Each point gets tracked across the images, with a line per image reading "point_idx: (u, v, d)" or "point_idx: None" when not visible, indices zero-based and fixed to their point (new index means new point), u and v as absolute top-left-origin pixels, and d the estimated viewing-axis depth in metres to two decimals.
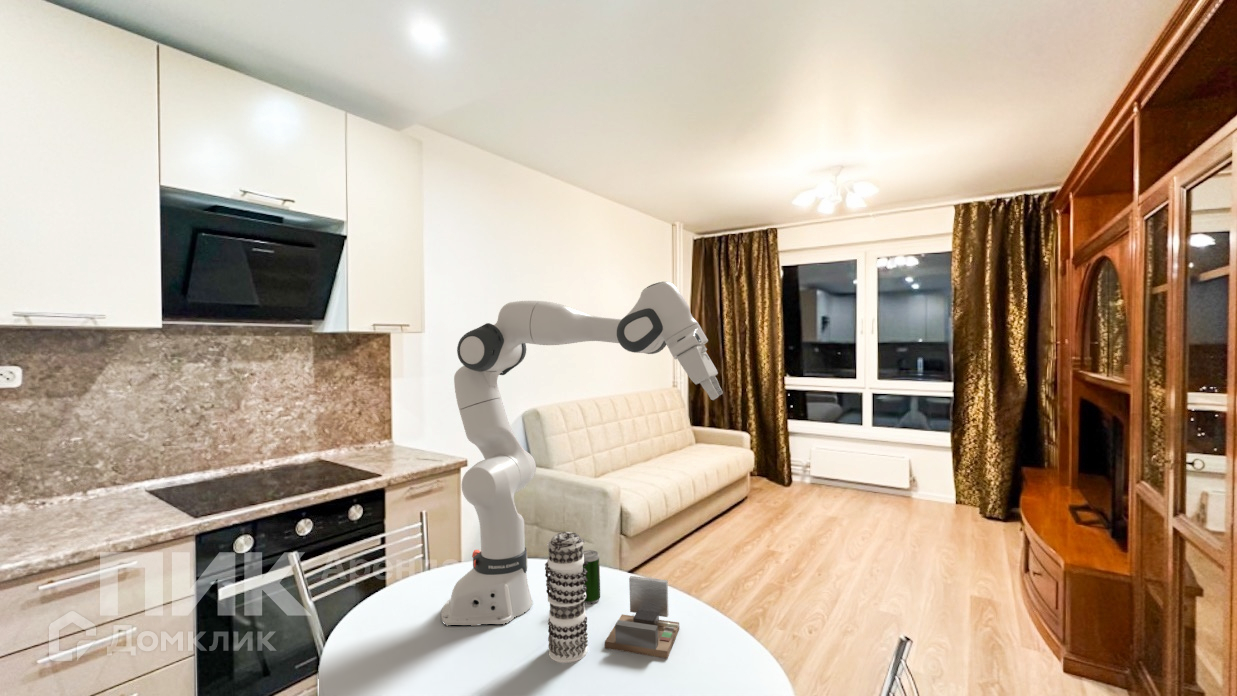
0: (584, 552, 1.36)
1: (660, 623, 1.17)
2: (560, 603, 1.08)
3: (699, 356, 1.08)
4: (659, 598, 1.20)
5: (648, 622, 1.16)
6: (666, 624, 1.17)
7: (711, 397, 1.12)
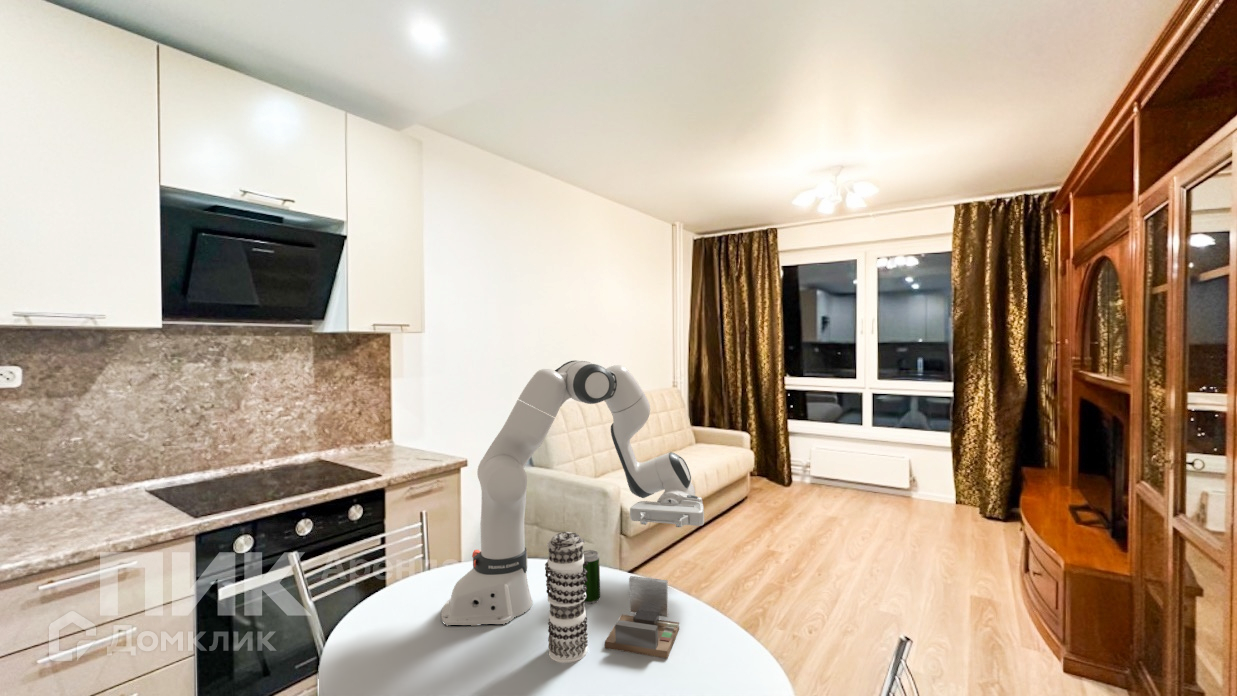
0: (584, 552, 1.36)
1: (660, 623, 1.17)
2: (560, 603, 1.08)
3: None
4: (659, 598, 1.20)
5: (648, 622, 1.16)
6: (666, 624, 1.17)
7: (681, 521, 1.32)
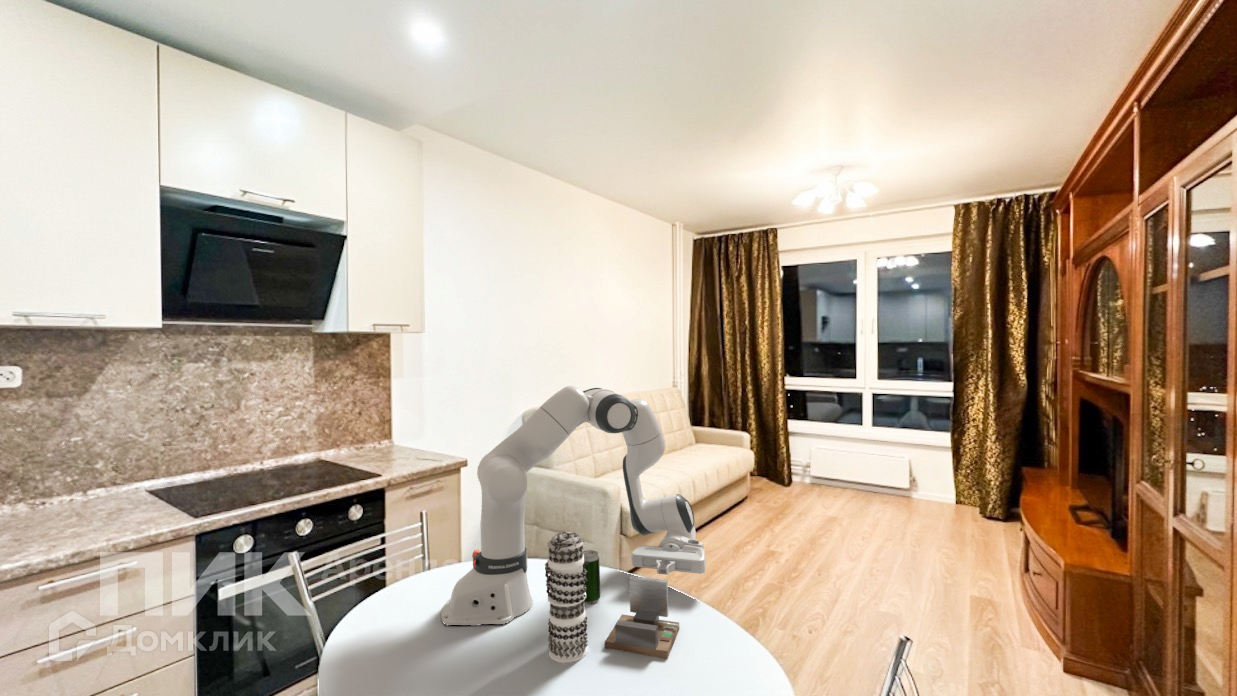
0: (584, 552, 1.36)
1: (660, 623, 1.17)
2: (560, 603, 1.08)
3: None
4: (659, 598, 1.20)
5: (648, 622, 1.16)
6: (666, 624, 1.17)
7: (668, 568, 1.33)
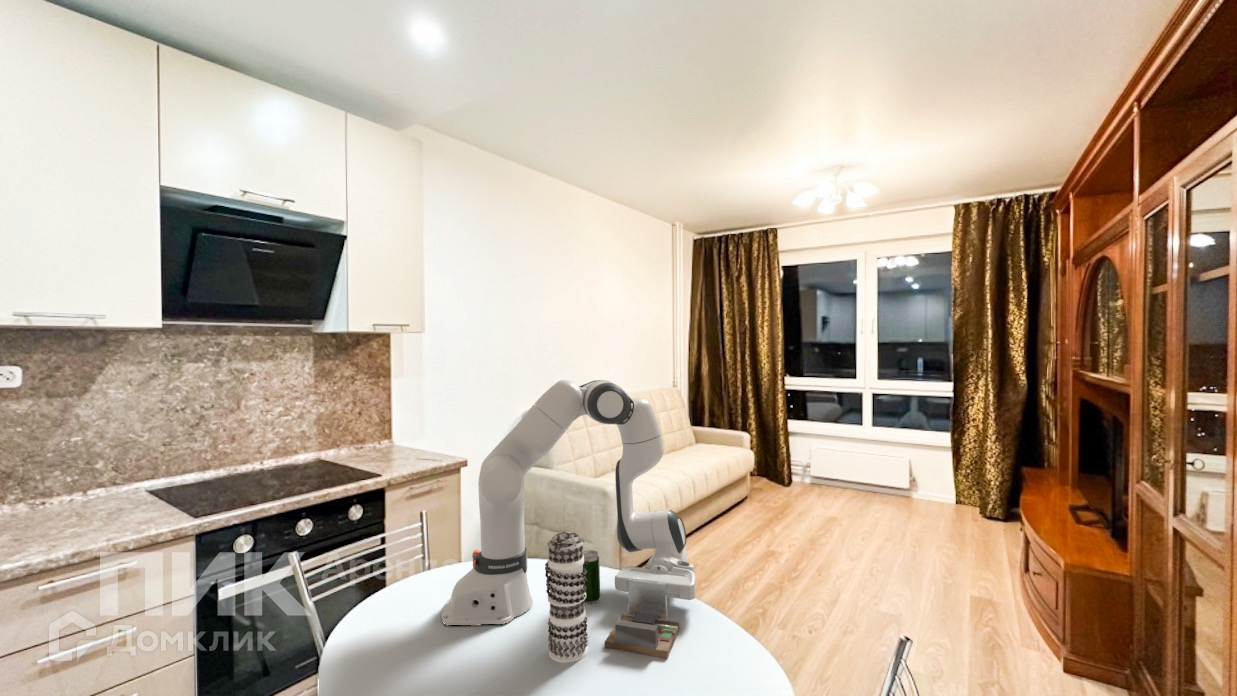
0: (584, 552, 1.36)
1: (659, 626, 1.16)
2: (560, 603, 1.08)
3: None
4: (658, 600, 1.18)
5: None
6: (665, 627, 1.16)
7: None
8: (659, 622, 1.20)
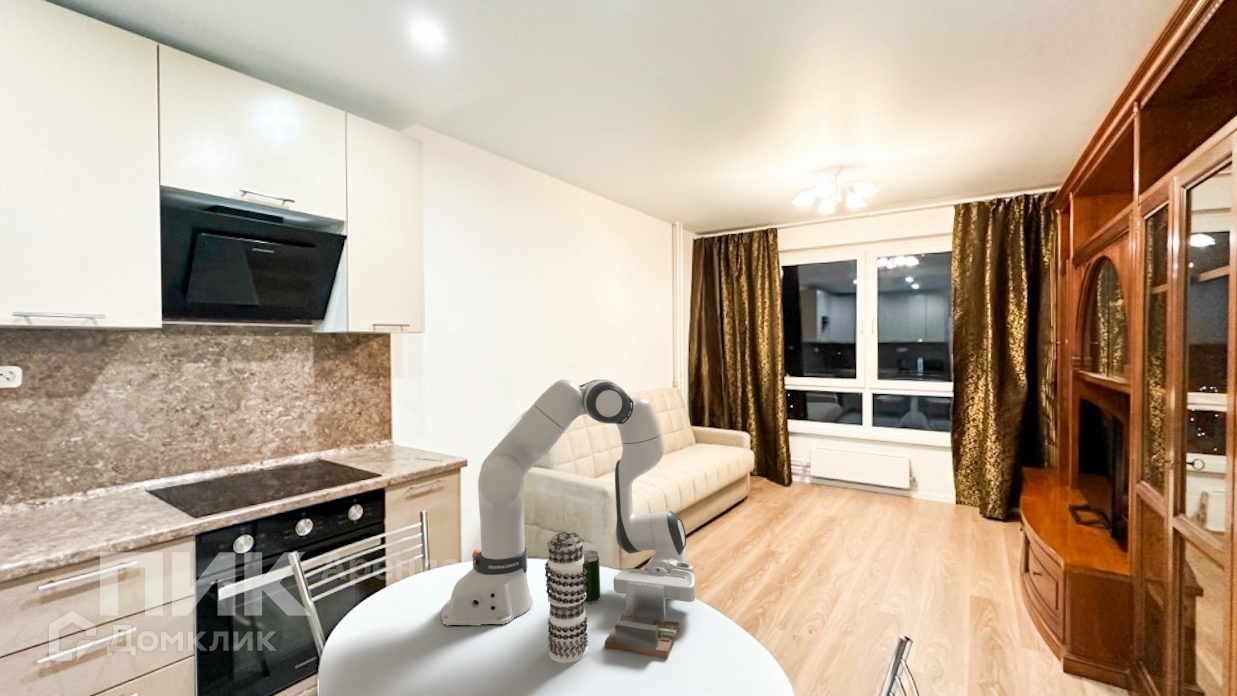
0: (584, 552, 1.36)
1: None
2: (560, 603, 1.08)
3: None
4: (656, 604, 1.17)
5: None
6: (663, 631, 1.14)
7: None
8: None
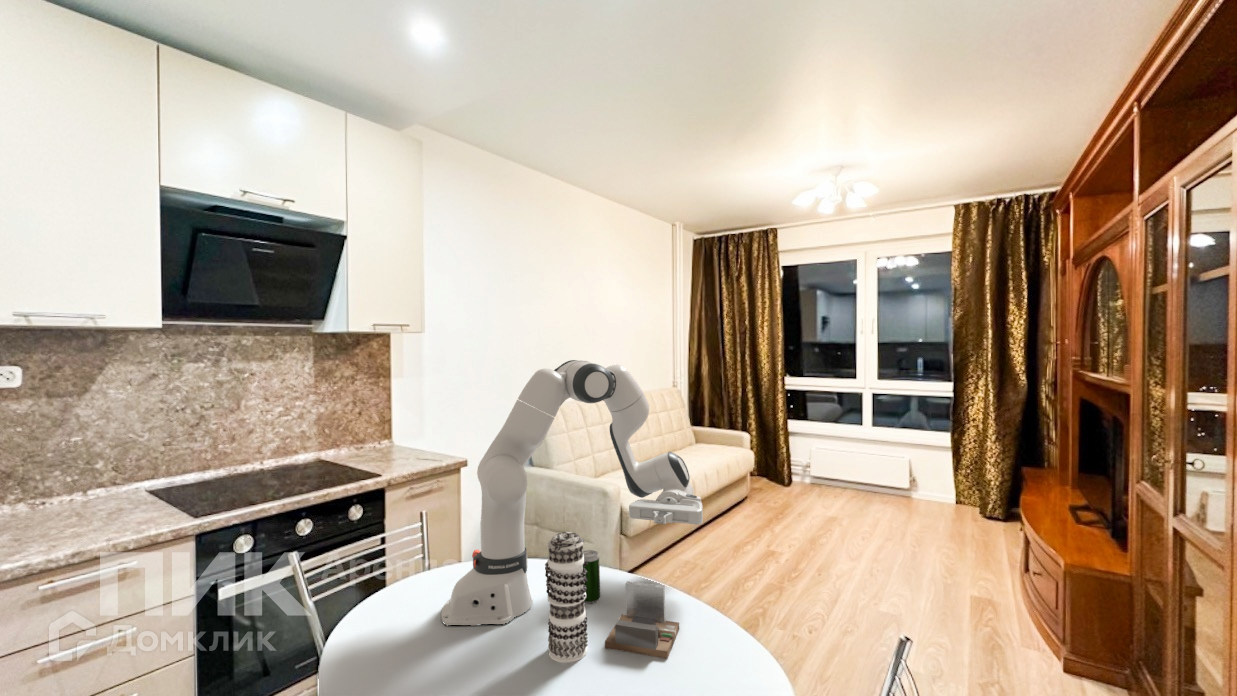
0: (584, 552, 1.36)
1: None
2: (560, 603, 1.08)
3: None
4: (656, 604, 1.17)
5: None
6: (663, 631, 1.14)
7: (665, 518, 1.33)
8: None
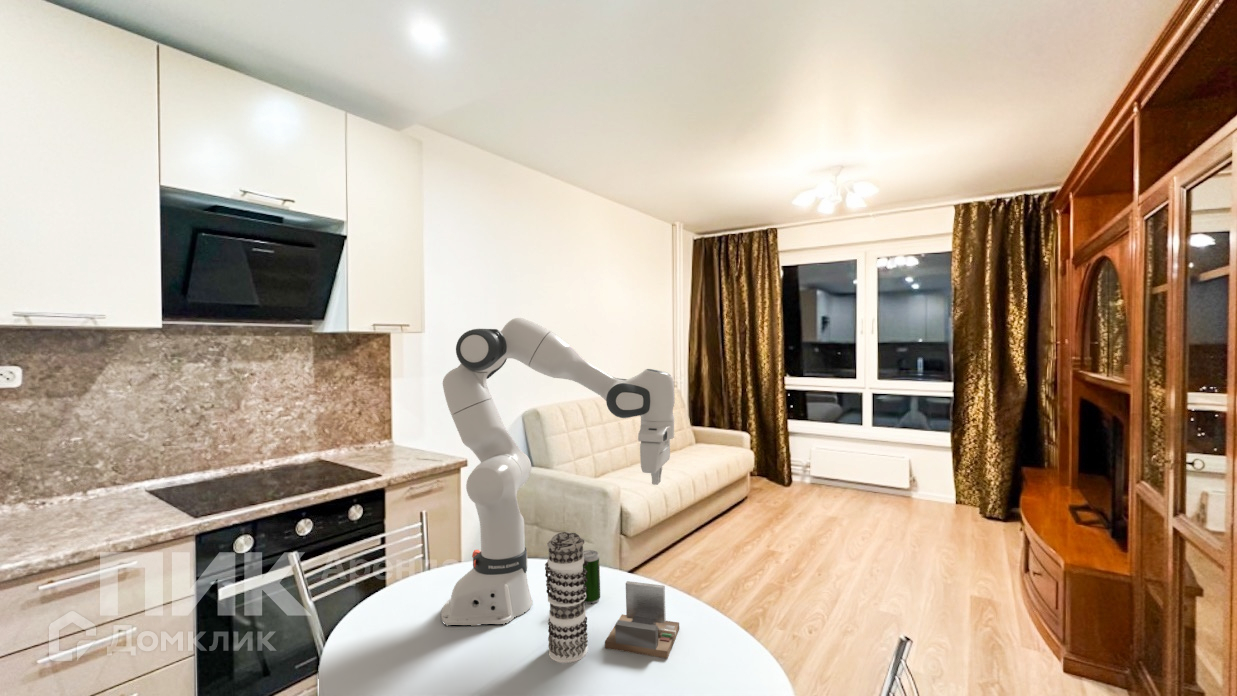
0: (584, 552, 1.36)
1: None
2: (560, 603, 1.08)
3: (657, 454, 1.26)
4: (656, 604, 1.17)
5: None
6: (663, 631, 1.14)
7: (653, 481, 1.34)
8: None
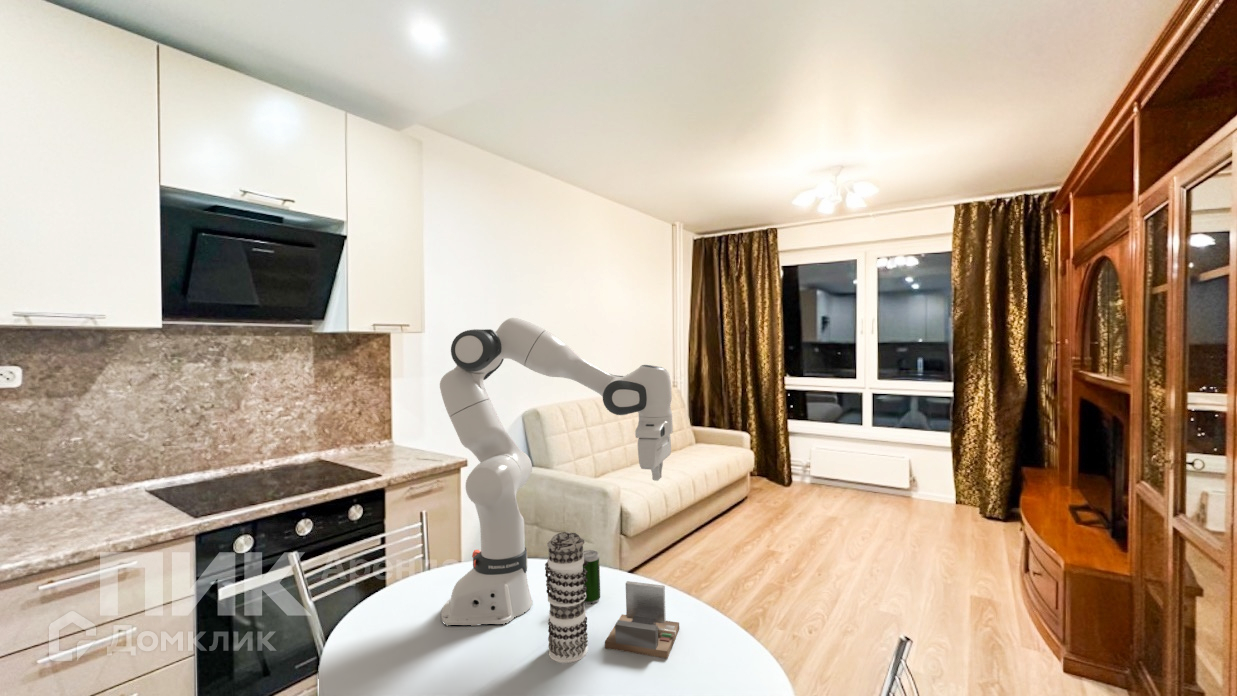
0: (584, 552, 1.36)
1: None
2: (560, 603, 1.08)
3: (654, 450, 1.25)
4: (656, 604, 1.17)
5: None
6: (663, 631, 1.14)
7: (653, 477, 1.34)
8: None
